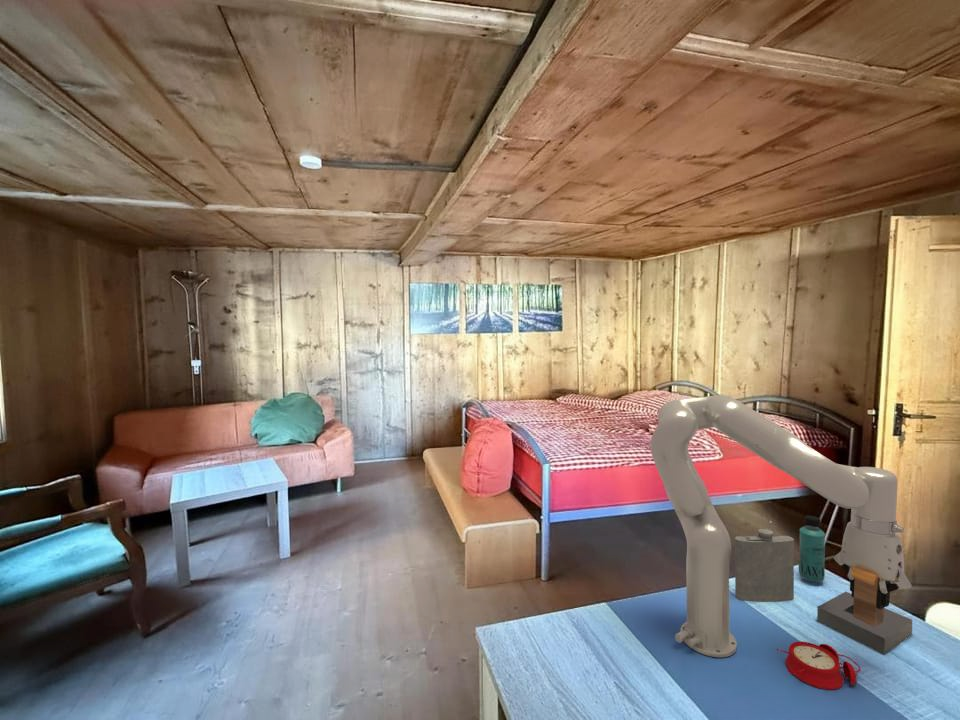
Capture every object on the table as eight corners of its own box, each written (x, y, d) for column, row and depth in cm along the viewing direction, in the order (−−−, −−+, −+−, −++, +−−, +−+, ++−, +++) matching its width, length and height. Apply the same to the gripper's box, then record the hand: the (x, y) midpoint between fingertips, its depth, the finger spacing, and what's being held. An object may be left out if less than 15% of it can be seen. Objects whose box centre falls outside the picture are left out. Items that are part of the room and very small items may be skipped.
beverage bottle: (793, 577, 137) (793, 514, 136) (808, 573, 139) (809, 511, 138) (814, 589, 131) (815, 523, 129) (830, 584, 132) (831, 519, 131)
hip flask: (789, 593, 129) (789, 527, 128) (798, 602, 125) (798, 533, 124) (733, 594, 130) (732, 527, 128) (740, 602, 125) (740, 534, 124)
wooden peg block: (871, 629, 98) (873, 576, 97) (849, 618, 101) (851, 567, 100) (886, 619, 101) (889, 568, 100) (865, 609, 104) (867, 560, 103)
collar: (884, 654, 104) (884, 638, 104) (817, 621, 116) (817, 606, 116) (912, 635, 110) (912, 619, 110) (845, 605, 123) (845, 591, 122)
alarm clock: (770, 641, 105) (832, 626, 104) (776, 666, 105) (838, 651, 105) (801, 675, 94) (870, 658, 94) (808, 702, 95) (877, 685, 94)
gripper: (930, 535, 94) (925, 617, 95) (838, 507, 109) (835, 579, 110) (913, 542, 90) (909, 628, 91) (821, 513, 105) (818, 587, 106)
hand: (868, 600), depth 101 cm, fingers closed on wooden peg block, 4 cm apart
